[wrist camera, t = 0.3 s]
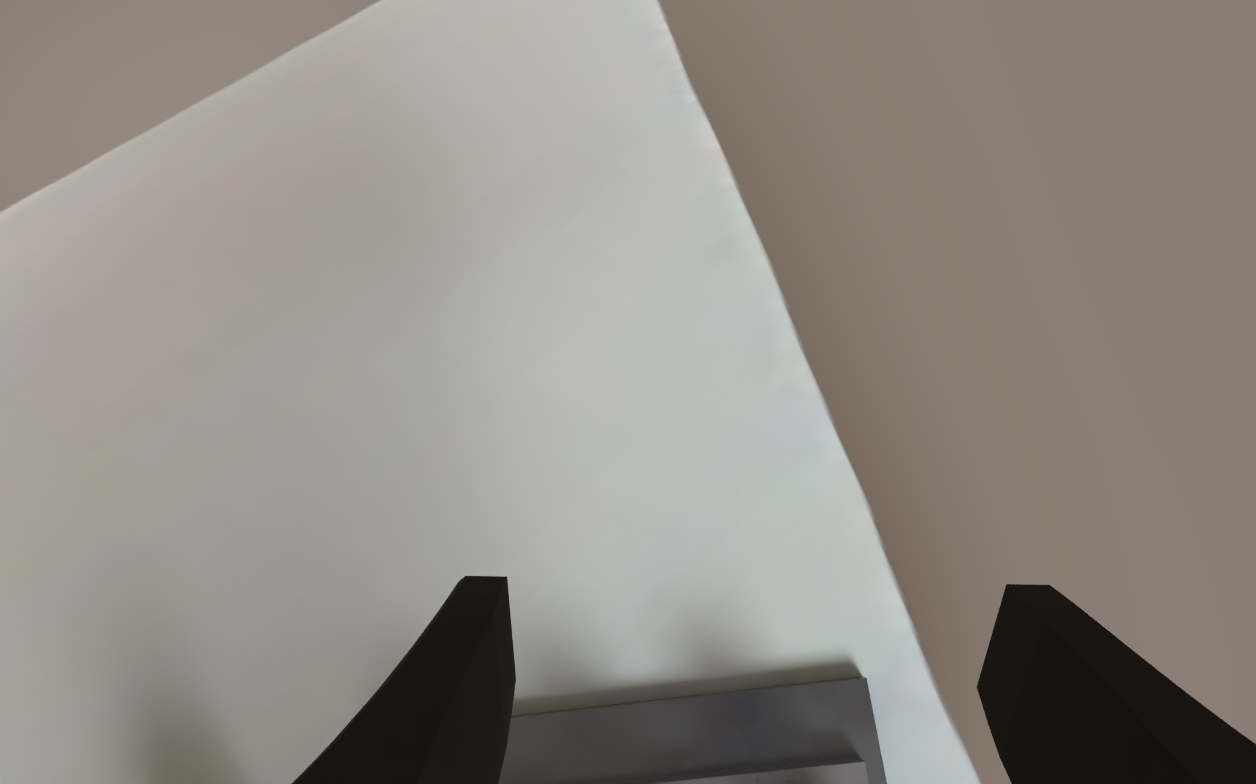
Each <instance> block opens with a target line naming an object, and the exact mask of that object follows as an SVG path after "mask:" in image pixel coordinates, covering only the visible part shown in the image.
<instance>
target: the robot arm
mask: <svg viewBox="0 0 1256 784" xmlns="http://www.w3.org/2000/svg"><path fill="white" fill-rule="evenodd" d="M515 682H516V675H515V663H514V652H513V640H512V629H511V617H510V606H509V595H508V583H507V577H492V576H465V577H464V578H463V579H461V580H460V581H459V582H458V583H457V585H456V586H455V588H454V589H453V591H452V592H451V594H450V595H449V597H448V598H447V600H446V601H445V603H444V604H443V605H442V607H441V608H440V610H439V611H438V613H437V614H436V615H435V617H434V618H433V619H432V621H431V622H430V624H429V625H428V626H427V628H426V629H425V630H424V632H423V633H422V634H421V636H420V637H419V638H418V640H417V641H416V642H415V644H414V645H413V646H412V648H411V649H410V650H409V652H408V653H407V654H406V655H405V657H404V658H403V659H402V660H401V662H400V663H399V664H398V665H397V667H396V668H395V669H394V670H393V672H392V673H391V674H390V675H389V677H388V678H387V679H386V681H385V682H384V683H383V684H382V686H381V687H380V688H379V689H378V690H377V692H376V693H375V694H374V695H373V696H372V697H371V699H370V700H369V701H368V702H367V703H366V704H365V705H364V707H363V708H362V709H361V710H360V711H359V712H358V713H357V715H356V716H355V717H354V718H353V719H352V720H351V721H350V722H349V724H348V725H347V726H346V727H345V728H344V729H343V730H342V732H341V733H340V734H339V735H338V736H337V737H336V738H335V739H334V741H333V742H332V743H331V744H330V745H329V746H328V747H327V748H326V749H325V750H324V751H323V752H322V753H321V754H320V755H319V756H318V758H317V759H316V760H315V761H314V762H313V763H312V764H311V765H310V766H309V767H308V768H307V769H306V770H305V771H304V772H303V773H302V774H301V775H300V776H299V777H298V778H297V779H296V780H295V781H294V782H293V783H292V784H498V782H499V778H500V774H501V769H502V765H503V761H504V757H505V753H506V748H507V742H508V735H509V728H510V721H511V713H512V705H513V698H514V690H515ZM977 689H978V692H979V695H980V699H981V702H982V705H983V708H984V711H985V715H986V718H987V721H988V724H989V727H990V730H991V733H992V736H993V739H994V742H995V744H996V748H997V751H998V753H999V756H1000V759H1001V761H1002V763H1003V765H1004V767H1005V770H1006V772H1007V774H1008V776H1009V778H1010V781H1011V783H1012V784H1256V744H1255V743H1253V742H1252V741H1250V740H1249V739H1248V738H1246V737H1245V736H1243V735H1242V734H1241V733H1239V732H1238V731H1237V730H1235V729H1234V728H1232V727H1231V726H1230V725H1228V724H1227V723H1226V722H1224V721H1223V720H1222V719H1220V718H1219V717H1218V716H1216V715H1215V714H1214V713H1212V712H1211V711H1210V710H1208V709H1207V708H1206V707H1204V706H1203V705H1202V704H1200V703H1199V702H1198V701H1196V700H1195V699H1194V698H1193V697H1191V696H1190V695H1189V694H1187V693H1186V692H1185V691H1183V690H1182V689H1181V688H1180V687H1178V686H1177V685H1176V684H1175V683H1173V682H1172V681H1171V680H1169V679H1168V678H1167V677H1166V676H1164V675H1163V674H1162V673H1160V672H1159V671H1158V670H1157V669H1155V668H1154V667H1153V666H1152V665H1150V664H1149V663H1148V662H1146V661H1145V660H1144V659H1143V658H1141V657H1140V656H1139V655H1138V654H1136V653H1135V652H1134V651H1133V650H1131V649H1130V648H1129V647H1128V646H1126V645H1125V644H1124V643H1123V642H1122V641H1120V640H1119V639H1118V638H1117V637H1115V636H1114V635H1113V634H1112V633H1110V632H1109V631H1108V630H1107V629H1105V628H1104V627H1103V626H1102V625H1100V624H1099V623H1098V622H1097V621H1095V620H1094V619H1093V618H1092V617H1090V616H1089V615H1088V614H1087V613H1085V612H1084V611H1083V610H1082V609H1080V608H1079V607H1078V606H1076V605H1075V604H1074V603H1073V602H1071V601H1070V600H1069V599H1067V598H1066V597H1065V596H1064V595H1062V594H1061V593H1059V592H1058V591H1057V590H1055V589H1054V588H1053V587H1051V586H1050V585H1015V584H1013V585H1010V584H1007V585H1006V588H1005V591H1004V595H1003V598H1002V602H1001V605H1000V608H999V612H998V615H997V619H996V622H995V626H994V629H993V633H992V636H991V640H990V643H989V647H988V650H987V653H986V657H985V660H984V664H983V667H982V671H981V674H980V678H979V681H978V685H977Z"/></svg>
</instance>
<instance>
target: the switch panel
mask: <svg viewBox="0 0 1256 784" xmlns="http://www.w3.org/2000/svg"><path fill="white" fill-rule="evenodd" d="M498 784H887V782H886V777H885V772H884V767H883V761H882V756H881V751H880V746H879V741H878V736H877V730H876V725H875V720H874V715H873V710H872V705H871V699H870V694H869V689H868V684H867V679H866V678H865V677H856V678H847V679H838V680H829V681H820V682H811V683H802V684H794V685H785V686H776V687H767V688H758V689H749V690H740V691H731V692H722V693H713V694H705V695H696V696H687V697H678V698H669V699H660V700H651V701H642V702H633V703H625V704H616V705H607V706H598V707H589V708H580V709H571V710H562V711H553V712H544V713H536V714H527V715H518V716H511V721H510V728H509V735H508V742H507V748H506V753H505V757H504V761H503V765H502V769H501V774H500V778H499V782H498Z"/></svg>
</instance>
